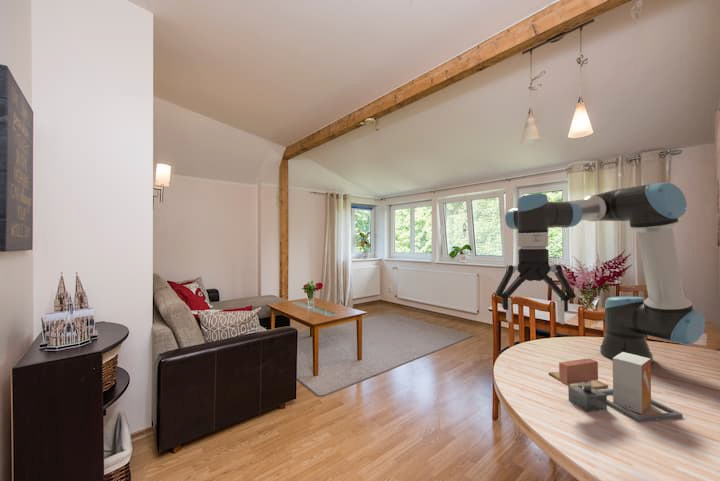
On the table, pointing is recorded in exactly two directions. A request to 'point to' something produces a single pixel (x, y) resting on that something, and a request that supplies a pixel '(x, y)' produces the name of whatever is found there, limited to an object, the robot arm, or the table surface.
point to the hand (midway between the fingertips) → (534, 321)
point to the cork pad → (593, 383)
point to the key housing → (587, 398)
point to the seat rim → (669, 415)
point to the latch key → (579, 372)
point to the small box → (632, 382)
